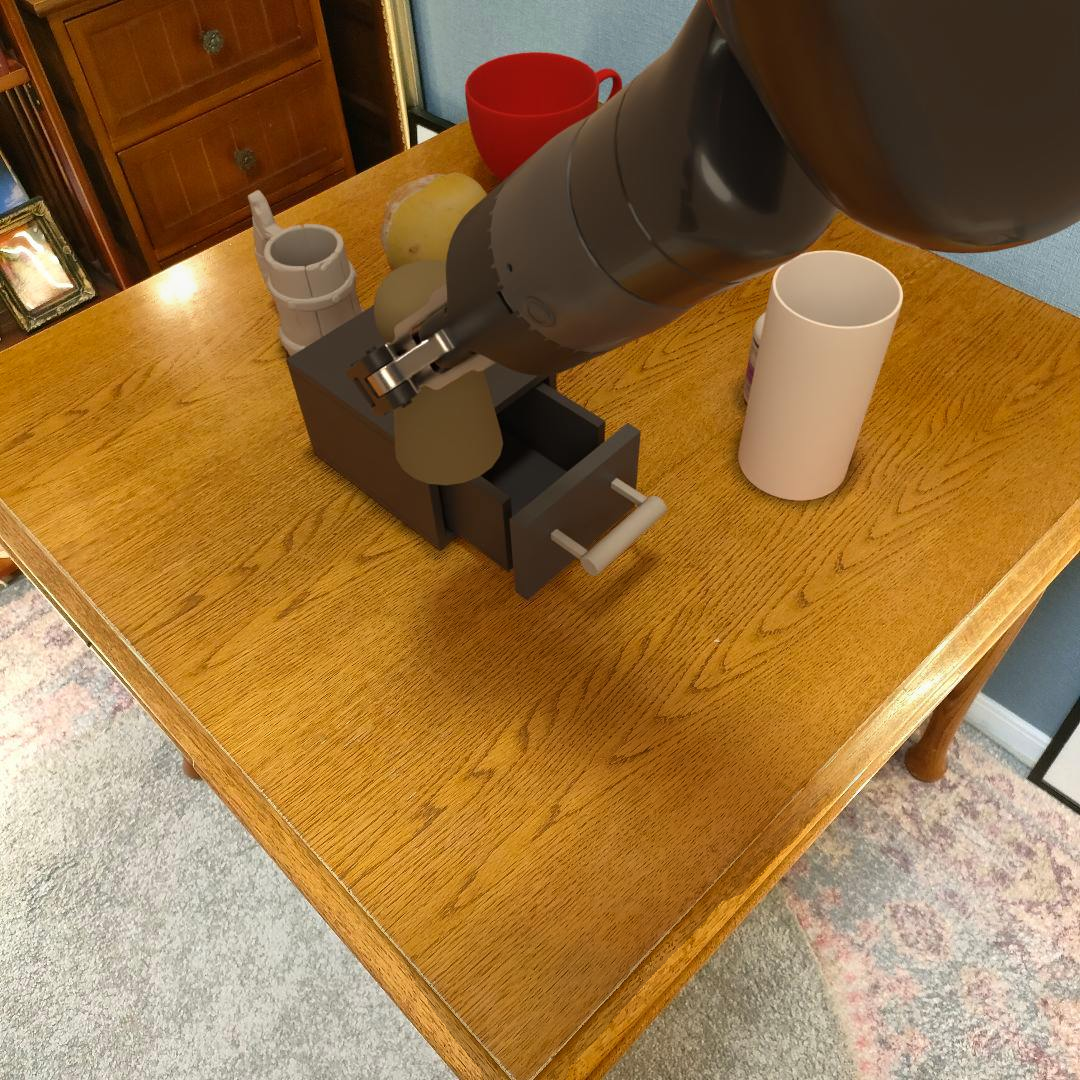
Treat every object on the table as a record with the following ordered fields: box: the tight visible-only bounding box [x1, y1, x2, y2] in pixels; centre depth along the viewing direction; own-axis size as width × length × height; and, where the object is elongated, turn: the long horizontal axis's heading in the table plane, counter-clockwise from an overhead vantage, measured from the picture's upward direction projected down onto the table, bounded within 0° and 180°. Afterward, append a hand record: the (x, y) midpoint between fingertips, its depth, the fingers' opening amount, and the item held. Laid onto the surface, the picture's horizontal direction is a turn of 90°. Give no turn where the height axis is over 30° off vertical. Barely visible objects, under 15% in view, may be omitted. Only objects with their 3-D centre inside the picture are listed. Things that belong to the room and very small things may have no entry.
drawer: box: [438, 382, 668, 602], centre depth 66 cm, size 18×11×8 cm, turn 47°
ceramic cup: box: [464, 51, 623, 183], centre depth 96 cm, size 13×17×10 cm
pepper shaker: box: [373, 260, 503, 485], centre depth 49 cm, size 6×6×11 cm
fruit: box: [379, 171, 488, 271], centre depth 85 cm, size 10×11×10 cm
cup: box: [737, 249, 904, 501], centre depth 67 cm, size 8×8×16 cm
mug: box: [247, 189, 365, 357], centre depth 80 cm, size 8×12×12 cm, turn 45°
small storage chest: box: [285, 304, 558, 551], centre depth 71 cm, size 15×13×10 cm
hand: (413, 359), depth 50 cm, fingers closed on pepper shaker, 5 cm apart
